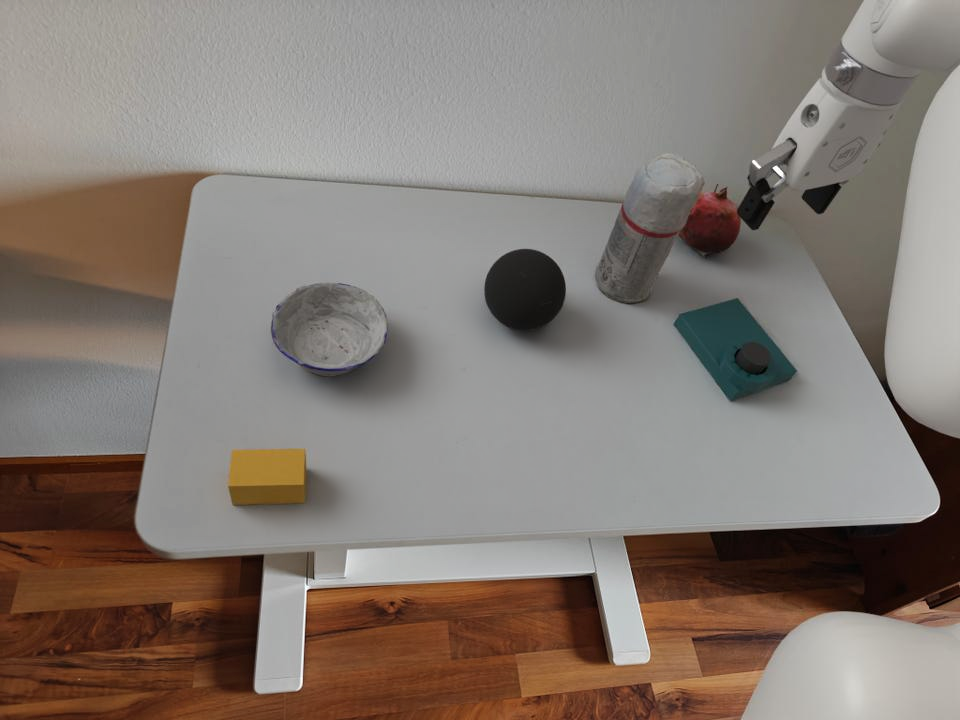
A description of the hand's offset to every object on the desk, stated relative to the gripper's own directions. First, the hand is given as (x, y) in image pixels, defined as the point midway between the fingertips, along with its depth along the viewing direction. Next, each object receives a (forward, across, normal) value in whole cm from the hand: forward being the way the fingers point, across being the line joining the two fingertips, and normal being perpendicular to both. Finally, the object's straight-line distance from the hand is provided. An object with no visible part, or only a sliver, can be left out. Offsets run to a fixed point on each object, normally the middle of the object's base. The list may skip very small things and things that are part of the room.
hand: (779, 213), depth 81 cm
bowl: (+21, -47, +13) cm, 53 cm away
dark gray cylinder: (+17, -1, -8) cm, 19 cm away
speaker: (+21, -23, +10) cm, 33 cm away
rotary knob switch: (+21, +2, -4) cm, 21 cm away
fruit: (+21, +10, +15) cm, 28 cm away
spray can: (+21, -6, +11) cm, 25 cm away
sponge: (+21, -58, -2) cm, 62 cm away
